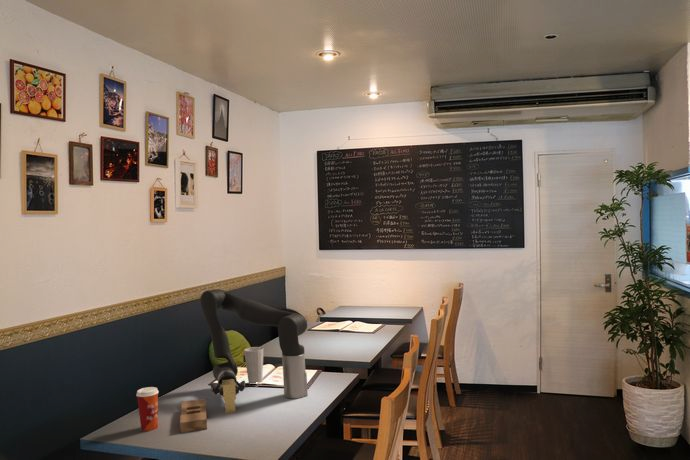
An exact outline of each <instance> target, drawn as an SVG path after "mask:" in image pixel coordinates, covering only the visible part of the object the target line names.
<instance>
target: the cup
mask: <svg viewBox="0 0 690 460" xmlns="http://www.w3.org/2000/svg"><path fill="white" fill-rule="evenodd" d="M243 352H244V358H245V365H246V373H247V379H248V381H247V382H248V384H249V383H256V382H261V381H262V382H263V373H264V347H262V346H252V347H250V346H249V347H247V348H244V350H243Z"/></svg>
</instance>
